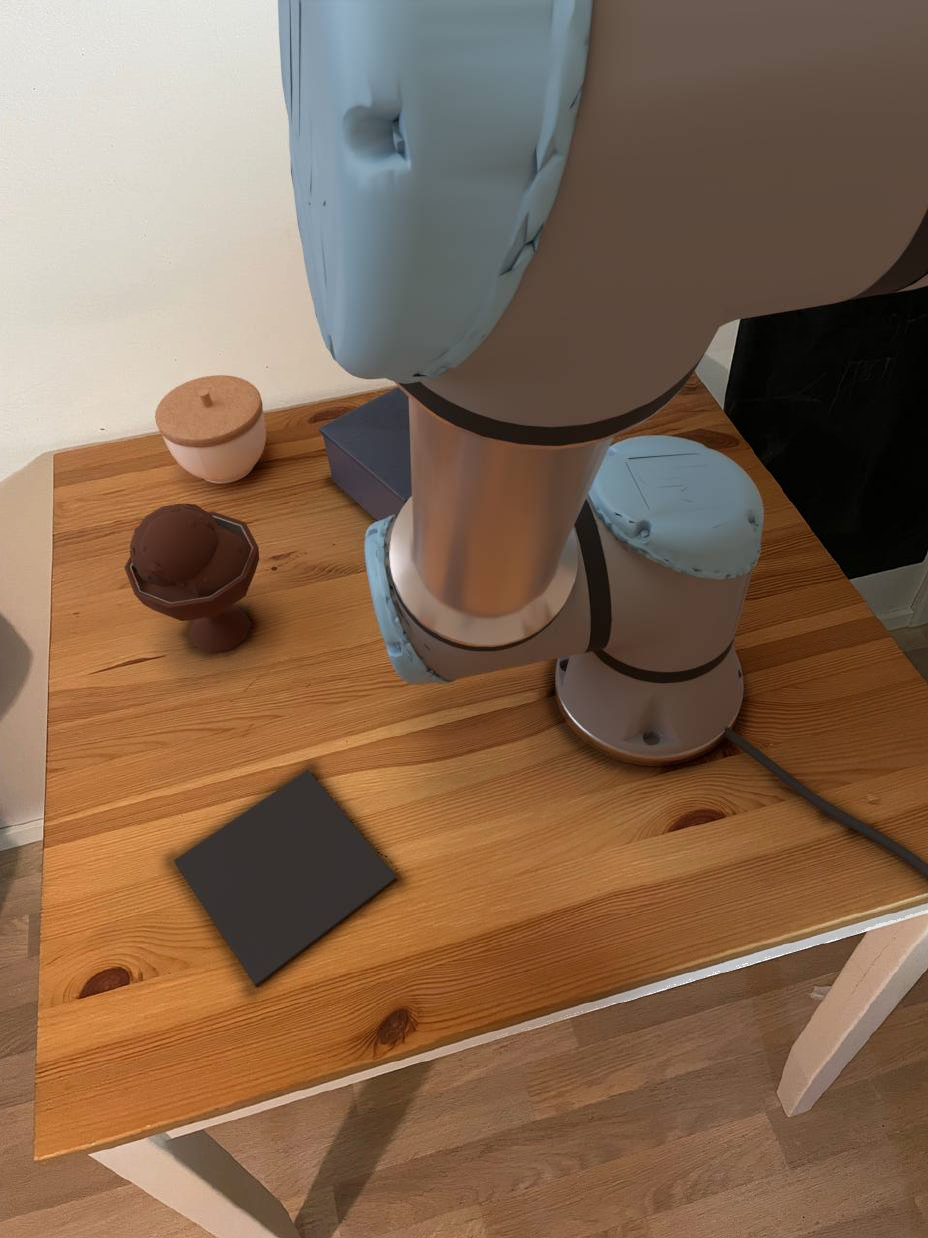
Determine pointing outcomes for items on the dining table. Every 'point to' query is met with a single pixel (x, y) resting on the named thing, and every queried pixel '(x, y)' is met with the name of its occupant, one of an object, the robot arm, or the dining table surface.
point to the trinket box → (214, 427)
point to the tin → (373, 453)
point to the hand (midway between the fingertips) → (405, 304)
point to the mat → (283, 875)
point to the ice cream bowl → (195, 571)
